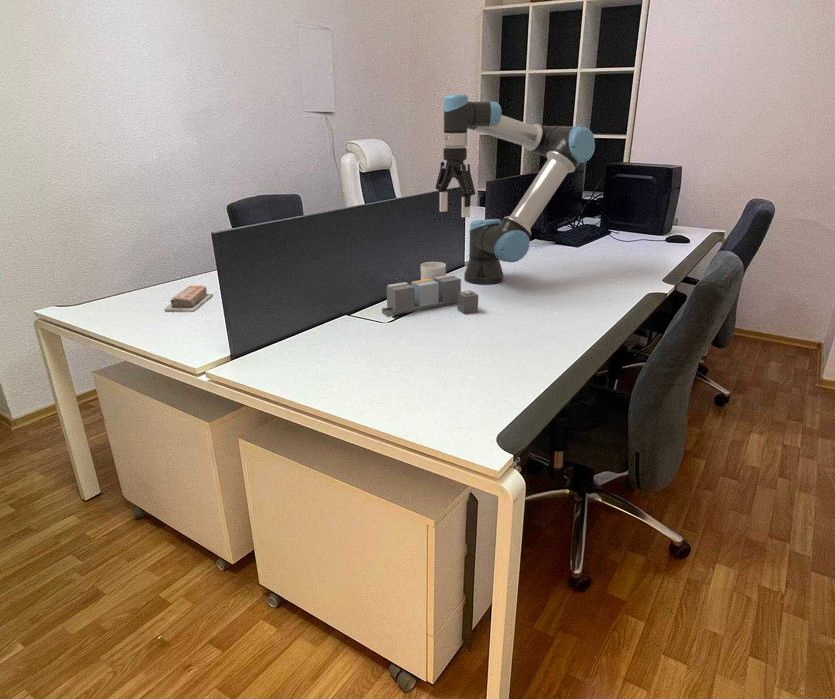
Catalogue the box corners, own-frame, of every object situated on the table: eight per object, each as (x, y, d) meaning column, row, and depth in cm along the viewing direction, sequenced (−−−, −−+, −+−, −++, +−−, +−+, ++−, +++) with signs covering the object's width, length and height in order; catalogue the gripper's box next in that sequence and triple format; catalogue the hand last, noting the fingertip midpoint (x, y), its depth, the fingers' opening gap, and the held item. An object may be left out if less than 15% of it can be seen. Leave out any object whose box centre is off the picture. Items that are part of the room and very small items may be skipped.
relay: (471, 308, 187) (471, 288, 185) (477, 312, 183) (478, 292, 180) (457, 309, 186) (458, 290, 183) (463, 314, 181) (464, 294, 179)
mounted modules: (451, 294, 196) (451, 274, 193) (460, 298, 191) (460, 278, 188) (387, 306, 185) (386, 284, 182) (395, 311, 180) (395, 289, 177)
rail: (458, 298, 197) (458, 294, 196) (464, 301, 194) (465, 297, 193) (381, 313, 183) (381, 308, 183) (387, 316, 180) (387, 311, 180)
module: (429, 298, 192) (429, 278, 189) (438, 303, 187) (438, 282, 184) (411, 301, 189) (411, 281, 186) (420, 306, 184) (420, 285, 181)
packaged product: (184, 284, 202) (211, 284, 202) (186, 297, 204) (213, 297, 203) (161, 299, 185) (191, 299, 185) (164, 313, 187) (194, 313, 187)
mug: (448, 298, 198) (448, 267, 193) (423, 299, 196) (423, 268, 192) (440, 288, 209) (440, 259, 204) (417, 290, 207) (416, 260, 203)
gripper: (425, 146, 189) (425, 210, 197) (467, 149, 169) (465, 220, 177) (444, 145, 192) (443, 208, 200) (487, 148, 172) (485, 218, 180)
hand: (454, 214), depth 189 cm, fingers open, 13 cm apart
